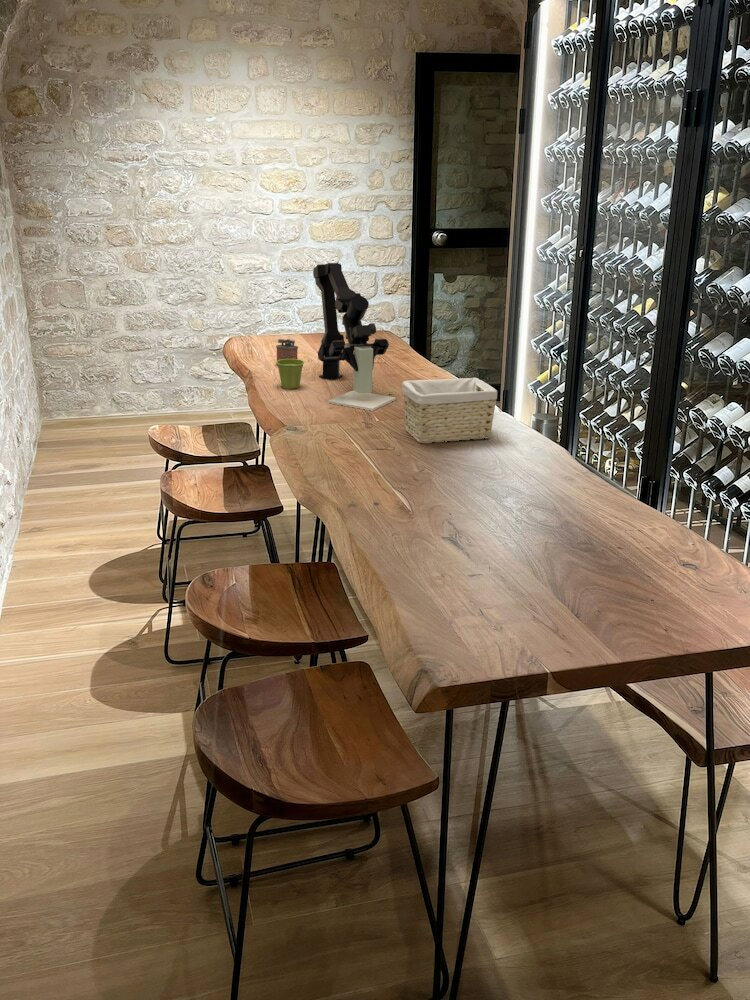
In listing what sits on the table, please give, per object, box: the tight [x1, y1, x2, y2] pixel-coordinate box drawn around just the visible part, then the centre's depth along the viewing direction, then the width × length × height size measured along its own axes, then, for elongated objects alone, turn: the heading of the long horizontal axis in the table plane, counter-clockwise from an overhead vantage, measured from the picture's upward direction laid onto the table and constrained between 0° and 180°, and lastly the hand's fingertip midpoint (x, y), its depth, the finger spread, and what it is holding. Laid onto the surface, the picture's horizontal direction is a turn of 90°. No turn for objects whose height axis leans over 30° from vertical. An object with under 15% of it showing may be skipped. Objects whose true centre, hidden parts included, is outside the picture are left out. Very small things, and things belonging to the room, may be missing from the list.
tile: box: [327, 390, 397, 412], centre depth 279 cm, size 16×16×1 cm
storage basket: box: [401, 377, 498, 444], centre depth 247 cm, size 24×16×15 cm
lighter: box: [275, 338, 299, 367], centre depth 320 cm, size 8×3×10 cm, turn 84°
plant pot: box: [275, 358, 305, 390], centre depth 292 cm, size 9×9×9 cm
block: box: [352, 346, 374, 393], centre depth 276 cm, size 4×4×14 cm
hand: (364, 370), depth 275 cm, fingers closed on block, 5 cm apart
